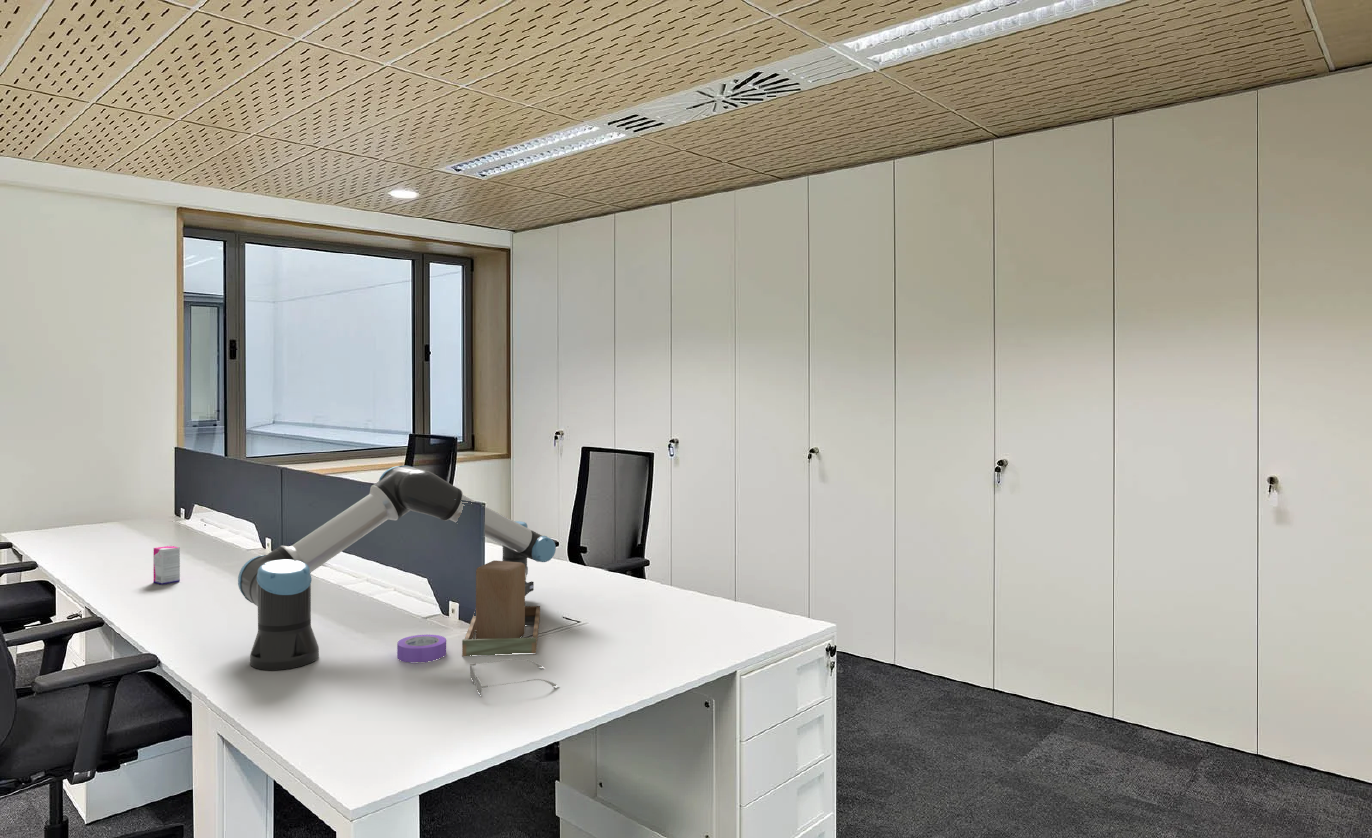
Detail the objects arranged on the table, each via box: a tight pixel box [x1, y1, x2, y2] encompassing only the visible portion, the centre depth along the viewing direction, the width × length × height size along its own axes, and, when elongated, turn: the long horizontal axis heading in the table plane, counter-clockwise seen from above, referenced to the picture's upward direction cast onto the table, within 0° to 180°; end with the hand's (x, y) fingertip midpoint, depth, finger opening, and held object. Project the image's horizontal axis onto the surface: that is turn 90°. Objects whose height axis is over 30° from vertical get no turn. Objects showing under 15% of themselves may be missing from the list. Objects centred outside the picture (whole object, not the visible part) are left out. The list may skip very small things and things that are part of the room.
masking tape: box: [396, 634, 447, 663], centre depth 213 cm, size 12×12×4 cm
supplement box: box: [153, 545, 181, 586], centre depth 280 cm, size 6×6×12 cm
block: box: [475, 560, 526, 639], centre depth 226 cm, size 10×10×20 cm
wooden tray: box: [461, 605, 541, 657], centre depth 230 cm, size 34×18×4 cm, turn 8°
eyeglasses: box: [469, 658, 557, 696], centre depth 195 cm, size 15×18×4 cm
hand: (508, 601), depth 231 cm, fingers closed
